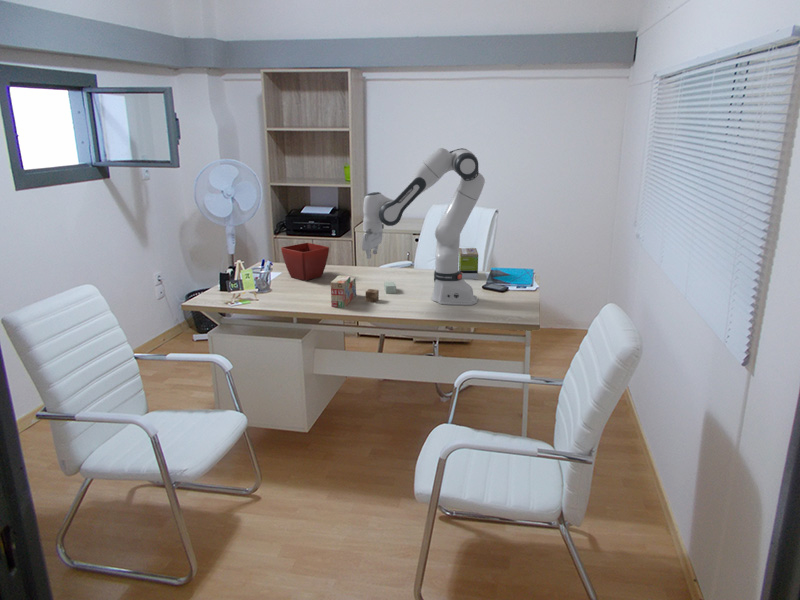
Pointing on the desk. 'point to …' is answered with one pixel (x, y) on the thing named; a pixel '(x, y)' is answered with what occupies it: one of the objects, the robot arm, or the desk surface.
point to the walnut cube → (372, 295)
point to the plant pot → (305, 260)
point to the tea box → (468, 263)
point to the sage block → (389, 287)
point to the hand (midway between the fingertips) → (371, 256)
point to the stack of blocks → (342, 290)
